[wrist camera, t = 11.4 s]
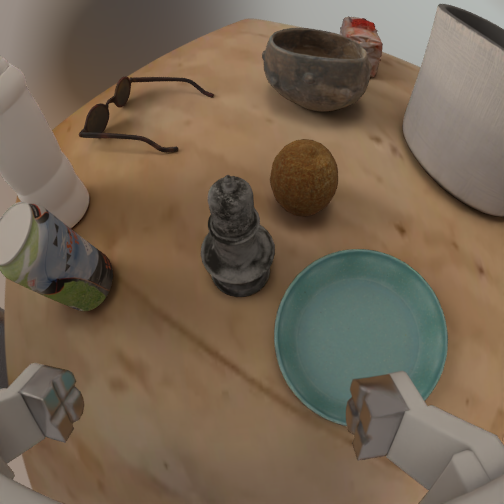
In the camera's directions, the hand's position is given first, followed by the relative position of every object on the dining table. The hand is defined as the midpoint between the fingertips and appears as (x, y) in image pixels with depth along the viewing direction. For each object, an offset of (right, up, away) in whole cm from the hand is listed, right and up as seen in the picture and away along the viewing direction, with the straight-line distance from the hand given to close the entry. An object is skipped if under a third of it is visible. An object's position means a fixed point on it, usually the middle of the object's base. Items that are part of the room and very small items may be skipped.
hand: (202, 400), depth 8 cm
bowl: (+10, +26, +33) cm, 43 cm away
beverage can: (-15, 0, +19) cm, 24 cm away
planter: (+32, +17, +27) cm, 46 cm away
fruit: (+6, +9, +23) cm, 26 cm away
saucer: (+10, -3, +17) cm, 20 cm away
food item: (+21, +40, +40) cm, 60 cm away
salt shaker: (0, +2, +20) cm, 20 cm away
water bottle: (-21, +9, +24) cm, 33 cm away
